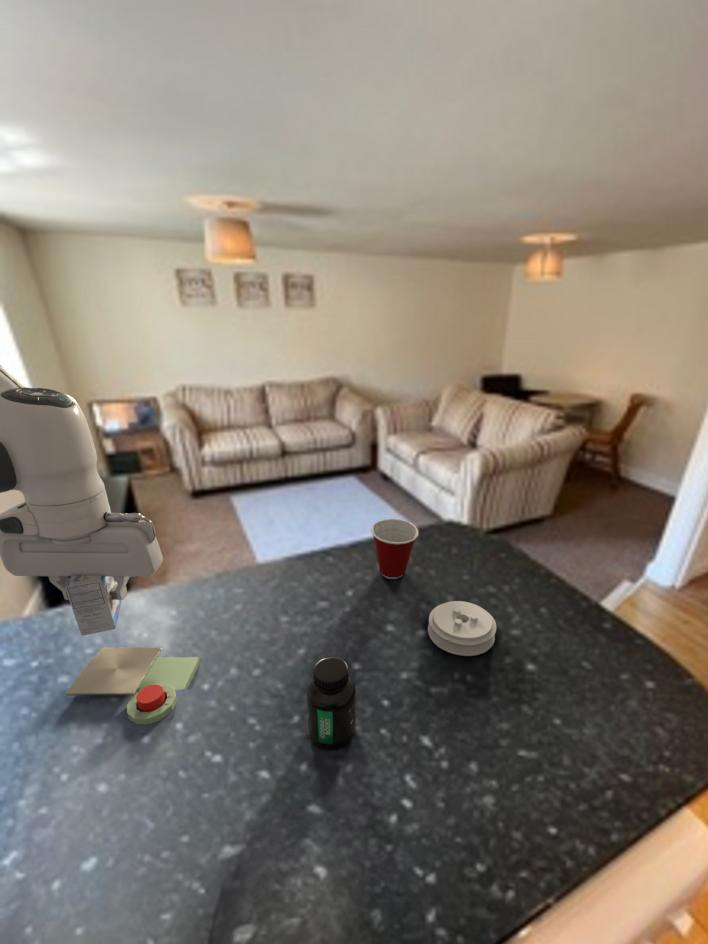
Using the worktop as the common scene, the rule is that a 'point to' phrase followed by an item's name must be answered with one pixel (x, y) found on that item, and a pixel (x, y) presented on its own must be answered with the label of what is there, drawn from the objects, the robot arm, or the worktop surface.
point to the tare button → (150, 698)
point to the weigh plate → (115, 671)
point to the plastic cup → (393, 545)
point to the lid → (462, 628)
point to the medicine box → (93, 603)
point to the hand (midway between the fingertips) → (96, 597)
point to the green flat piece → (164, 686)
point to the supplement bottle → (331, 704)
